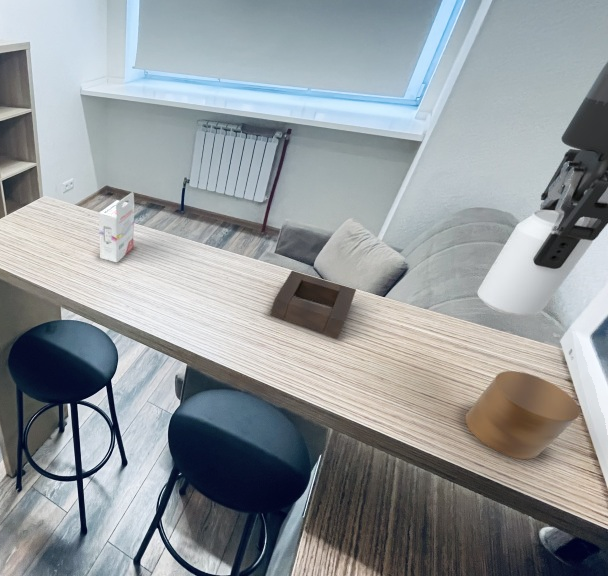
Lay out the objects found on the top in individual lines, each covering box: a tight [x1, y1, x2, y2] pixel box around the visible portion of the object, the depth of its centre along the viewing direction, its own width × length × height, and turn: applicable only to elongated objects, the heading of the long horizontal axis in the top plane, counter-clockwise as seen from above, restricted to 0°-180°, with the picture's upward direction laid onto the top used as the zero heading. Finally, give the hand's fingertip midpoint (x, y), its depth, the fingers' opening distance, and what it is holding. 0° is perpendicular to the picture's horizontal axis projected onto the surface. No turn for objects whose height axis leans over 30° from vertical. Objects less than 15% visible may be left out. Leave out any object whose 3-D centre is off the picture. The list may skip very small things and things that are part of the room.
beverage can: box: [476, 209, 593, 317], centre depth 48 cm, size 6×6×12 cm
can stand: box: [269, 270, 357, 339], centre depth 78 cm, size 12×12×4 cm
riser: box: [464, 370, 581, 460], centre depth 54 cm, size 8×8×8 cm
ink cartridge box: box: [98, 191, 135, 263], centre depth 94 cm, size 9×5×15 cm, turn 149°
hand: (540, 252), depth 47 cm, fingers closed on beverage can, 6 cm apart
